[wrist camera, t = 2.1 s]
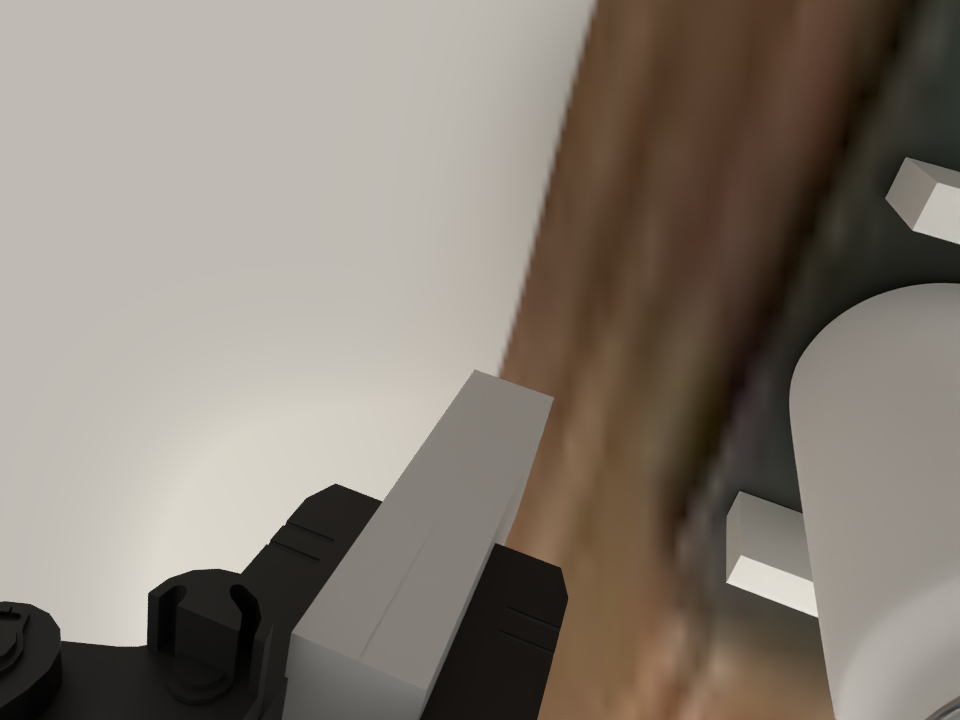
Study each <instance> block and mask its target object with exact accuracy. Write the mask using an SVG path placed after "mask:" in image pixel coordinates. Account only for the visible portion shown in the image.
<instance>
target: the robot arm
mask: <svg viewBox="0 0 960 720" xmlns="http://www.w3.org/2000/svg"><path fill="white" fill-rule="evenodd" d="M553 399H554V397H551V396H549V395H546V394H543V393H540V392H537V391H534V390H531V389H529V388H526V387H523V386H520V385H517V384H514V383H511V382H509V381H506V380H503V379H500V378H497V377H494V376H491V375H488V374H485V373H482V372H480V371H477V370H474V372H473V373H472V375H471V376H470V378H469V379H468V380H467V382H466V383H465V385H464V386H463V388H462V389H461V390H460V392H459V393H458V395H457V396H456V398H455V399H454V400H453V402H452V403H451V405H450V406H449V408H448V409H447V410H446V412H445V413H444V415H443V416H442V418H441V419H440V420H439V422H438V423H437V425H436V426H435V428H434V429H433V431H432V432H431V433H430V435H429V436H428V438H427V439H426V441H425V442H424V444H423V445H422V446H421V448H420V449H419V451H418V452H417V453H416V455H415V456H414V458H413V459H412V461H411V462H410V463H409V465H408V466H407V468H406V469H405V471H404V472H403V473H402V475H401V476H400V478H399V479H398V481H397V482H396V484H395V485H394V487H393V488H392V489H391V491H390V492H389V494H388V495H387V496H386V498H385V499H384V501H383V502H382V501H380V500H377V499H374V498H372V497H369V496H367V495H364V494H361V493H359V492H356V491H354V490H351V489H348V488H346V487H343V486H341V485H338V484H334V485H332V486H330V487H328V488H326V489H324V490H322V491H320V492H318V493H316V494H314V495H312V496H310V497H308V498H306V499H305V500H304V502H303V503H302V504H301V505H300V506H299V507H298V509H297V510H296V511H295V512H294V513H293V514H292V516H291V517H290V518H289V519H288V520H287V522H286V525H285V526H282V527H281V528H280V529H279V531H278V532H277V533H276V534H275V535H274V536H273V538H272V539H271V541H270V543H269V545H266V546H265V547H264V548H263V549H262V550H261V551H260V553H259V554H258V555H257V556H256V557H255V558H254V559H253V561H252V562H251V563H250V564H249V565H248V566H247V568H246V569H245V570H244V571H243V572H242V573H241V574H239V573H235V572H230V571H226V570H222V569H208V570H207V569H206V570H192V571H190V572H187V573H184V574H181V575H178V576H175V577H172V578H169V579H167V580H166V581H165V582H163V583H162V584H160V585H159V586H158V587H156V588H155V589H153V590H152V591H150V592H149V593H148V627H147V628H148V629H147V645H145V646H139V647H115V646H106V645H96V644H87V643H76V642H67V641H61V637H60V628H59V627H58V625H57V624H56V623H55V621H54V620H53V618H52V617H51V616H50V614H49V613H47V612H45V611H43V610H41V609H39V608H37V607H35V606H33V605H31V604H25V603H15V602H6V601H4V602H0V720H537V718H538V714H539V710H540V706H541V702H542V698H543V695H544V691H545V687H546V683H547V679H548V675H549V671H550V667H551V664H552V660H553V655H554V652H555V648H556V644H557V640H558V636H559V631H560V628H561V625H562V621H563V617H564V613H565V609H566V606H567V602H568V595H567V591H566V587H565V583H564V579H563V575H562V571H561V568H560V567H557V566H554V565H552V564H549V563H547V562H544V561H541V560H539V559H536V558H534V557H531V556H528V555H526V554H523V553H521V552H518V551H515V550H513V549H510V548H508V547H505V546H504V544H505V542H506V539H507V537H508V534H509V532H510V529H511V527H512V524H513V522H514V520H515V517H516V514H517V511H518V508H519V505H520V502H521V499H522V496H523V493H524V490H525V486H526V483H527V480H528V477H529V474H530V471H531V468H532V465H533V462H534V458H535V455H536V452H537V449H538V446H539V443H540V440H541V437H542V434H543V431H544V427H545V424H546V421H547V418H548V415H549V412H550V409H551V406H552V403H553Z"/></svg>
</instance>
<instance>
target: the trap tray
mask: <svg viewBox="0 0 960 720" xmlns="http://www.w3.org/2000/svg"><path fill="white" fill-rule="evenodd" d="M885 199H886V200H887V201H888V202H889V204H890V205H891V206H892V207H893V208H894V209H895V211H896V212H897V213H898V214H899V215H900V217H901V218H902V219H903V220H904V221H905V222H906V224H907V225H908V226H909V227H910V228H911V229H912V230H913V231H916V232H920V233H923V234H926V235H930V236H933V237H937V238H940V239H943V240H947V241H950V242H954V243H957V244H960V172H958V171H954V170H951V169H947V168H944V167H940V166H936V165H933V164H929V163H926V162H922V161H918V160H915V159H911V158H908V157H906V158H905V160H904V162H903V164H902V166H901V168H900V170H899V172H898V174H897V176H896V178H895V180H894V182H893V184H892V186H891V188H890V190H889V192H888V194H887V196H886V198H885ZM726 583H729V584H731V585H734V586H736V587H739V588H742V589H744V590H747V591H750V592H752V593H755V594H757V595H760V596H763V597H765V598H768V599H771V600H773V601H776V602H778V603H781V604H784V605H786V606H789V607H792V608H794V609H797V610H799V611H802V612H805V613H807V614H810V615H813V616H815V617H818V611H817V605H816V598H815V591H814V585H813V578H812V571H811V565H810V558H809V551H808V544H807V537H806V531H805V524H804V517H803V514H802V513H800V512H797V511H794V510H791V509H789V508H786V507H783V506H780V505H777V504H775V503H772V502H769V501H766V500H764V499H761V498H758V497H755V496H752V495H750V494H747V493H744V492H741V491H739V493H738V495H737V497H736V499H735V501H734V503H733V505H732V507H731V509H730V511H729V513H728V515H727V552H726Z"/></svg>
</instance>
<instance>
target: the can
mask: <svg viewBox="0 0 960 720" xmlns="http://www.w3.org/2000/svg"><path fill="white" fill-rule="evenodd" d="M789 410H790V422H791V430H792V438H793V446H794V453H795V461H796V468H797V475H798V482H799V489H800V496H801V503H802V510H803V517H804V524H805V531H806V537H807V544H808V551H809V558H810V565H811V571H812V578H813V585H814V591H815V598H816V605H817V611H818V618H819V625H820V631H821V638H822V644H823V651H824V657H825V663H826V669H827V676H828V682H829V688H830V693H831V698H832V704H833V709H834V714H835V719H836V720H960V284H955V283H931V284H920V285H913V286H908V287H903V288H899V289H895V290H891V291H888V292H885V293H882V294H879V295H877V296H874V297H872V298H869V299H867V300H865V301H863V302H861V303H859V304H857V305H855V306H853V307H852V308H850V309H848V310H847V311H845V312H844V313H842V314H841V315H839V316H838V317H837V318H835V319H834V320H833V321H832V322H830V323H829V324H828V325H827V326H826V327H825V328H824V329H823V330H822V331H821V332H820V333H819V334H818V335H817V336H816V337H815V338H814V340H813V341H812V342H811V343H810V344H809V346H808V347H807V348H806V350H805V351H804V353H803V354H802V356H801V357H800V359H799V361H798V363H797V365H796V367H795V370H794V373H793V376H792V380H791V386H790V396H789Z"/></svg>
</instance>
